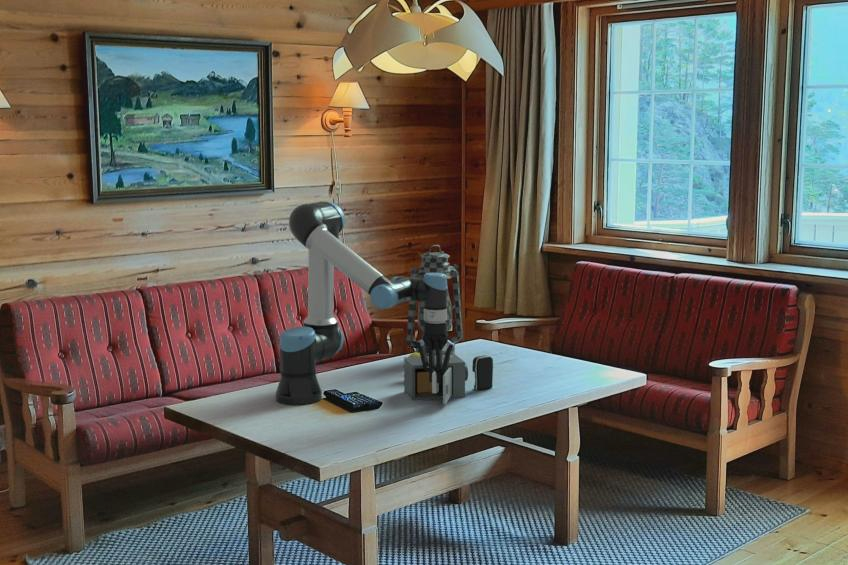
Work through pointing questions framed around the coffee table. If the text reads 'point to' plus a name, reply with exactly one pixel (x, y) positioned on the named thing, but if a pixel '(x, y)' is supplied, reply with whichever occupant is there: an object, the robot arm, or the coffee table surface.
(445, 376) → the cabinet door
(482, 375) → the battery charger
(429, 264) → the lantern
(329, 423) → the coffee table surface
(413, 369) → the small grey cabinet
